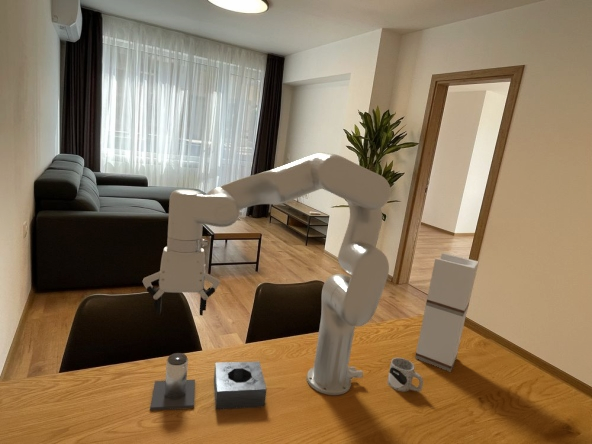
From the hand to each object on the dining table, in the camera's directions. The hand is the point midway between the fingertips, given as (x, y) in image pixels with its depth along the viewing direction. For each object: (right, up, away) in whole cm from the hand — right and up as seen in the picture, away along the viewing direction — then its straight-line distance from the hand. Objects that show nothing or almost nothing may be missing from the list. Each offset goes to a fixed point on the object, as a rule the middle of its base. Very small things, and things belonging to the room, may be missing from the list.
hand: (180, 312), depth 91 cm
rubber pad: (-3, -22, +4) cm, 22 cm away
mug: (+59, -27, +20) cm, 68 cm away
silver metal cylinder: (-3, -21, +4) cm, 21 cm away
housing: (+12, -23, +8) cm, 27 cm away
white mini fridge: (+75, -25, +38) cm, 88 cm away
